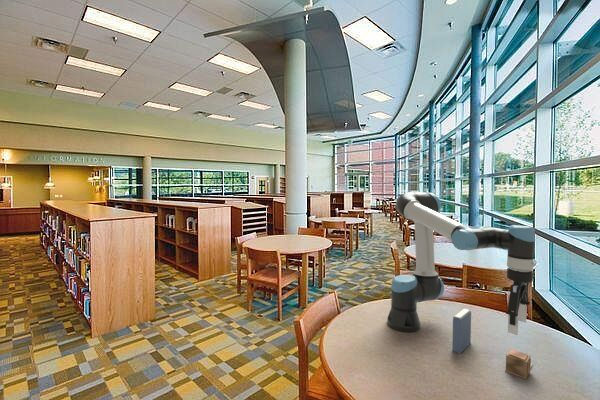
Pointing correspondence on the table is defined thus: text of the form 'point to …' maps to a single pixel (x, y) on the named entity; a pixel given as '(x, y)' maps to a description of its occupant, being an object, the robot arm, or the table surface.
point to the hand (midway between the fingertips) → (517, 327)
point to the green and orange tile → (514, 374)
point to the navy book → (461, 330)
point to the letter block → (518, 363)
